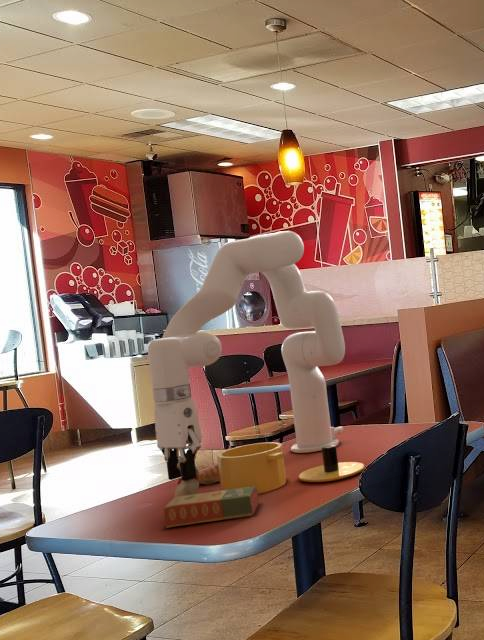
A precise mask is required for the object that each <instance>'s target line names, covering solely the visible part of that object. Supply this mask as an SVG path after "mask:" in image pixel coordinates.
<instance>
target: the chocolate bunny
mask: <svg viewBox="0 0 484 640" xmlns="http://www.w3.org/2000/svg"><path fill="white" fill-rule="evenodd" d="M178 461H179V462H178V464H177V468H178V469H179V470H180V472H181V468H180V463H181V462H182V460H181V456H180V455H179V458H178ZM195 468H196V478H193V479H190V480H187V481H182V477H180V478H178V481H177V485H176V487H175V490H174V497H173V498H175V497H179V496H186V495H193V494H200V493H199V490H200V483H199V481H198V477H199V474H200V471H199V469H198V468H197V467H196V466H195Z"/></svg>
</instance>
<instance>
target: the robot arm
mask: <svg viewBox="0 0 484 640" xmlns="http://www.w3.org/2000/svg"><path fill="white" fill-rule="evenodd" d="M304 252H305V244H304V241H303V239H302V238H301V236H300V235H299V234H298V233H296V232H295V231H293V230H283V231H276V232H271V233H264V234H258V235H254V236H250V237H248V238H243V239H236V240H231V241H228V242H225V243H224V244H222V245H220V247H219V248H218V250H217V252H216V254H215V256H214V258H213V260H212V263H211V265H210V267H209V268H208V271H207V274H206V276H205V277H204V280H203V282H202V284H201V287H200V289H198V291H197V292H196V293H195V294H193V296H192V297H191V298H190V299H188V300H187V302H185V303H184V305H182V306H181V308H179V309H178V311H176V312H175V314H174V315H173V316H172V317H171V319H170V320H169V322H168V323H167V326H166V328H165V330H164V333H163V335H162V337H161V338H157V339H151V340H150V341H149V342H148V344H147V354H148V355H147V356H148V364H149V371H150V381H151V387H152V388H151V389H152V395H153V404H154V429H155V430H154V431H155V437H156V443H157V444H156V445H157V448H158V450H160V451H161V453H162V454H163V456H164V461H165V462H166V469H167V477H168V480H170V481H172V480H176V479H180V478H182V481H187V480H190V479H193V478H196V468H197V467H196V461H195V460H196V458H197V456H196V455H197V453H198V452H199V450H200V449H201V447H202V445H201V443H202V441H203V438H202V430H201V423H200V420H199V419H200V418H199V414H198V411H197V407H196V403H195V400H194V398H193V397H192V390H191V389H192V388H191V384H190V383H191V381H190V374H189V372H190V371H189V368H195V367H197V368H199V367H206V366H210V365H213V364H214V363H215V362H217V361H218V360H219V358H220V357H221V355H222V352H223V347H222V343H221V340H220V339H219V337H217V336H216V335H214V334H213V333H210V332H199V330H200V329H201V328H202V327H204V326H205V325H206V324H208V323H209V322H210V321H212V320H214V319H216V318H218V317H220V316H222V315H223V314H225V313H226V312H227V311H230V310H231V309H232V308H233V307H234V306H235V305H236V303H237V301H238V298H239V296H240V294H241V291H242V288H243V286H244V283H245V281H246V279H247V277H248V275H251V274H257V273H261V274H263V276H264V277H265V278H266V279H267V281H268V283H269V286H270V289H271V292H272V296H273V300H274V304H275V308H276V311H277V316H278V319H279V322H280V324H281V325H282V326H283V327H284V328H286V329H290V330H291V329H292V330H294V329H297V330H299V329H309V328H313V329H314V330H309V331H301V332H294V333H292V334H289V335H288V336H287V337H285V338H284V340H283V342H282V345H281V357H282V360H283V363H284V366H285V369H286V373H287V377H288V383H289V390H290V398H291V407H292V415H293V425H294V431H295V440H296V441H295V442H296V443H295V444H293V445H292V446H291V447H290V448H291V452H292V453H295V454H308V453H315V452H316V453H317V452H322V447H323V446H326V445H336V447H337V446H339V444H340V441H339V439H338V438H336V437H337V435H341V434H343V433H344V432H345V429H344V427H343V426H338V427H334V426H332V425H331V416H330V407H329V401H328V391H327V390H328V389H327V383H326V379H325V376H324V374H323V372H322V371H321V370H320V368H319V367H328V366H335V365H338V364H339V363H341V362H342V361H343V360H344V357H345V355H346V343H345V338H344V332H343V329H342V325H341V320H340V315H339V311H338V308H337V305H336V302H335V300H334V299H333V297H332V296H331V295H330V294H329V293H328V292H326V291H324V290H311V291H308V290H307V289H306V287H305V286H306V285H305V283H304V279H303V276H302V273H301V271H300V269H299V267H298V266H297V265H296V264H297V263H298V262H299V261H300V260H301V259H302V257H303V256H304ZM179 456H181V460H182V462H181V463H180V468H181V472H180V470H179V469H178V468H177V464H178V462H179V461H178V458H179ZM195 467H196V468H195Z"/></svg>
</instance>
